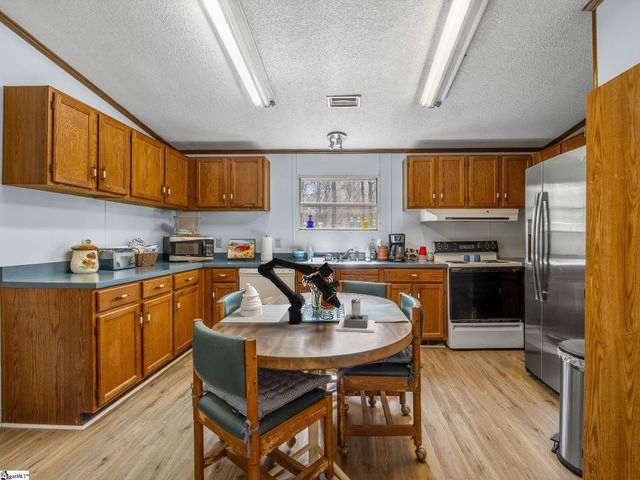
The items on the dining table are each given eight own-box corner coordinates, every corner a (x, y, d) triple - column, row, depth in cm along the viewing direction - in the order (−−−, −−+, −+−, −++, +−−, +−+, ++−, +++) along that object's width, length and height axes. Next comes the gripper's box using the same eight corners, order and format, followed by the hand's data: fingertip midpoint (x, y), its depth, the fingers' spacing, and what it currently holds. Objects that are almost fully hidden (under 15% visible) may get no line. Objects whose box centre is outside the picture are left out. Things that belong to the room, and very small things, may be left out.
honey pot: (236, 315, 191) (235, 285, 190) (247, 310, 203) (246, 281, 202) (255, 317, 187) (255, 286, 186) (265, 311, 199) (265, 282, 199)
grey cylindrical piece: (353, 326, 164) (353, 301, 163) (350, 323, 168) (350, 299, 168) (362, 325, 165) (361, 300, 164) (358, 322, 169) (358, 298, 169)
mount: (336, 330, 159) (336, 321, 159) (341, 320, 177) (340, 312, 177) (373, 332, 156) (373, 323, 156) (374, 322, 174) (374, 313, 173)
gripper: (330, 274, 162) (351, 298, 160) (333, 273, 180) (352, 294, 178) (313, 288, 162) (334, 313, 160) (318, 286, 181) (336, 307, 179)
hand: (339, 306), depth 170 cm, fingers open, 9 cm apart
